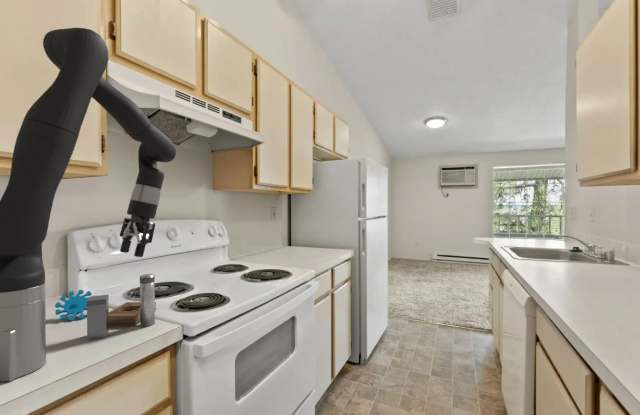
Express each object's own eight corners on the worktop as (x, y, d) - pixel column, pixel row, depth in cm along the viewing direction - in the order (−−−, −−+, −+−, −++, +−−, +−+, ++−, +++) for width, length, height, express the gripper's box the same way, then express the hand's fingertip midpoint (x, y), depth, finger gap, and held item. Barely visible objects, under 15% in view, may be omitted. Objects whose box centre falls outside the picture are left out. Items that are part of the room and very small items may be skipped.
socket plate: (134, 326, 86) (134, 315, 86) (101, 326, 86) (101, 316, 86) (155, 311, 98) (155, 301, 98) (126, 311, 98) (126, 302, 98)
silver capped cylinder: (151, 327, 86) (150, 276, 85) (137, 327, 85) (136, 277, 85) (157, 321, 89) (157, 273, 89) (144, 322, 89) (143, 274, 89)
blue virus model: (48, 319, 87) (61, 288, 94) (51, 328, 91) (63, 298, 97) (95, 318, 92) (104, 288, 98) (96, 327, 95) (105, 298, 102)
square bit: (106, 337, 79) (106, 298, 79) (86, 340, 77) (86, 300, 77) (109, 331, 83) (108, 294, 83) (90, 334, 81) (89, 296, 81)
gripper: (169, 205, 93) (155, 259, 91) (144, 202, 101) (132, 251, 98) (144, 200, 87) (129, 257, 84) (120, 197, 94) (106, 249, 92)
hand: (130, 254), depth 91 cm, fingers open, 8 cm apart
